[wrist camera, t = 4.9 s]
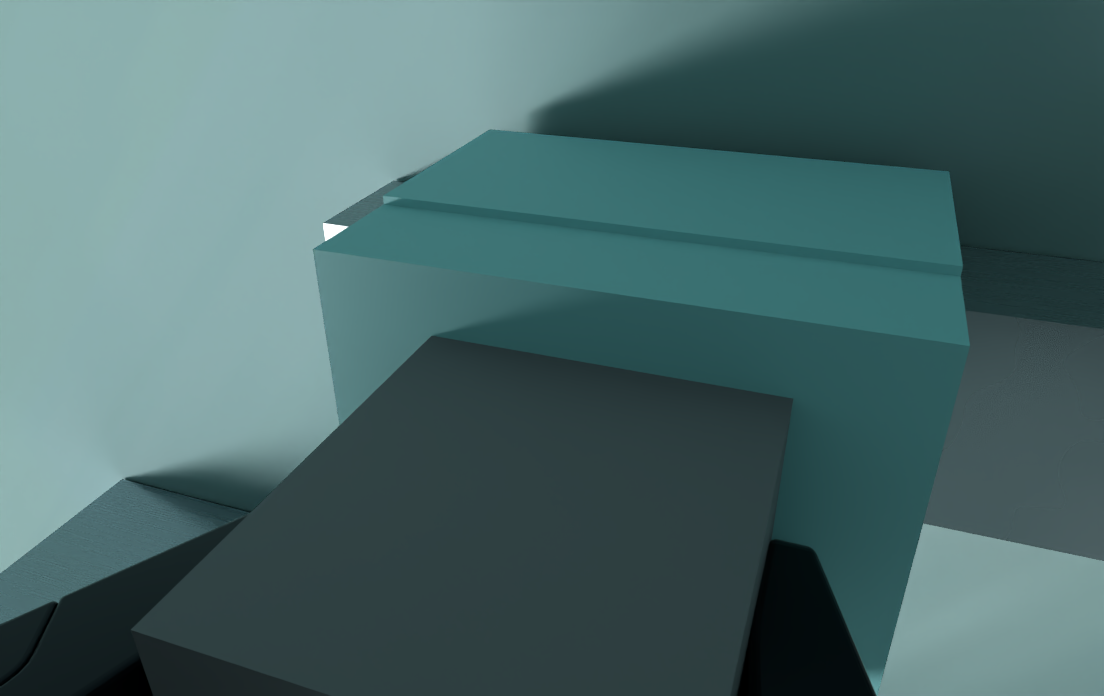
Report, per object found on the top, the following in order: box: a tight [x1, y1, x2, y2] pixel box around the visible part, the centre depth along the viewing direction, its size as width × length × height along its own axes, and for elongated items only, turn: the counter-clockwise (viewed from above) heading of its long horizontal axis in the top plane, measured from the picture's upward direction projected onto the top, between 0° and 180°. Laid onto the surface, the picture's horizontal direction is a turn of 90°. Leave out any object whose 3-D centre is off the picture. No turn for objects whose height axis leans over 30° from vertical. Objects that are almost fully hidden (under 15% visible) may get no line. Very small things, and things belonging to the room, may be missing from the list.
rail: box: [323, 181, 1104, 561], centre depth 11 cm, size 15×3×2 cm, turn 90°
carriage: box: [131, 130, 970, 696], centre depth 9 cm, size 6×5×8 cm
